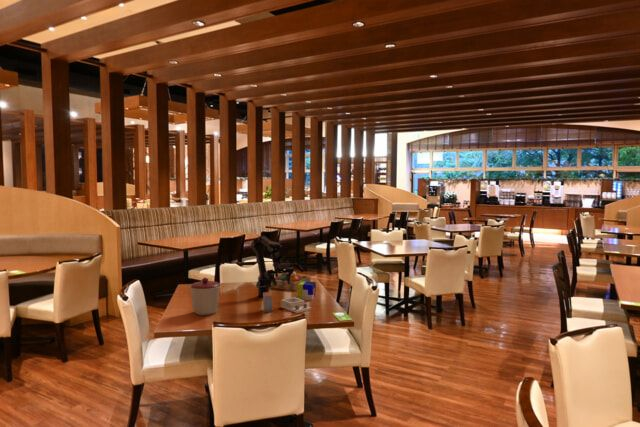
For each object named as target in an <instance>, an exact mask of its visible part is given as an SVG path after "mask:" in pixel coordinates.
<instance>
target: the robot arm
mask: <svg viewBox="0 0 640 427" xmlns="http://www.w3.org/2000/svg"><path fill="white" fill-rule="evenodd" d="M250 246H251V249H252V251H253V253H255V256H256V261H257V265H258V266H257V267H258V272H259V275H258V278H257V282H256V284H255V286H256V289H257V290H258V292H257V293H258V295H257V298H263V292H270V289H269V288H270V287H271V282H272V283H273V284H274V285H275V286H276V281H275V276H276V275H278V274H280V275H281V273H285V274H286V275H285V276H286V279H287V283H288V285H289V284H290V276H291V274H292V273H293V272H295V268H294V267H290V266H291V265H290V261H282V259H284V258H285V257H286V256H287V255H288V250H287V249H286V248H285V247H284V246H283V245H281V244H280V243H279V242H276V241H273V240H271V239H269V238H268V237H267V236H266V235H260V236H258V237H256V238H255V239H253V240H252V241H251V245H250ZM265 247H266V248H267V250H268V252H270V253H271V254H270V258H271V260H272V267H273V269H268V270H267V268H266V263H265V262H266V261H265V257H264V249H265ZM284 262H285V263H284ZM284 269H285V270H284Z"/></svg>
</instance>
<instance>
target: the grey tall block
mask: <svg viewBox="0 0 640 427" xmlns="http://www.w3.org/2000/svg"><path fill="white" fill-rule="evenodd" d="M262 298H263V300H262V302H263V304H262V307H263V308H262V310H263V313H272V312H273V292H272V291H269V292H263V297H262Z"/></svg>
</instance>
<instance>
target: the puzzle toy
mask: <svg viewBox="0 0 640 427" xmlns="http://www.w3.org/2000/svg"><path fill="white" fill-rule="evenodd" d="M316 286H317V284H316V281H311V282H306V281H301V282H300V283H299V284H298V290H297V298H298V299H301V300H304V301H307V300H309V301H313V300H314V299H315V298H316V294H317V292H316V290H317V289H316V288H317V287H316Z"/></svg>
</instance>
